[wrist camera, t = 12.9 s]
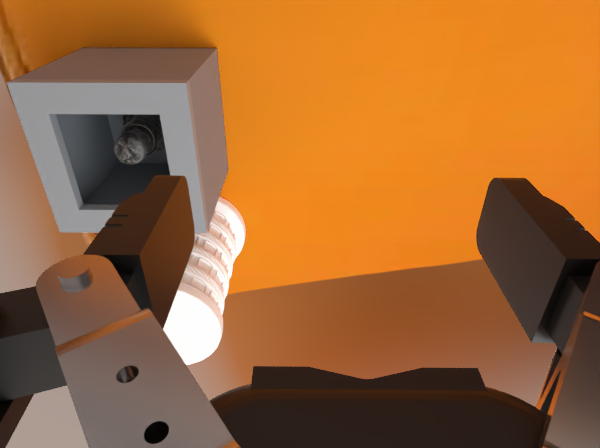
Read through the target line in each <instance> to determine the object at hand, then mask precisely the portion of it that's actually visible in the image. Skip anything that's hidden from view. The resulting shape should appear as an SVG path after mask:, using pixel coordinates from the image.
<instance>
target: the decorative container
mask: <svg viewBox="0 0 600 448" xmlns="http://www.w3.org/2000/svg"><path fill="white" fill-rule="evenodd" d="M245 233H246V227H245V224H244V220H243V218H242V216H241V214H240V213H239V211H238V210H237V209H236V208H235V207H234V206H233V205H232V204H231V203H230V202H229V201H227V200H226V199H224V198H222V197H221V196H219V199H218V202H217V205H216V207H215V210H214V213H213V216H212V219H211V222H210V225H209V228H208V231H207V233H195V239H194V246H193V250H192V253H191V255H190V258H189V261H188V263H187V266H186V269H185V271H184V274H183V277H182V280H181V282H180V285H179V288H178V290H177V293H176V296H175V298H174V301H173V304H172V307H171V309H170V312H169V315H168V317H167V320H166V323H165V325H164V328H163V330H164V332H165V333H166V335H167V337H168V338H169V340H170V341H171V343H172V344H173V346H174V347H175V349H176V350H177V352H178V354H179V355H180V357H181V358H182V360H183V361H184V363H185V364H186V365H190V364H193V363H196V362H199V361H201V360H203V359H205V358H206V357H208V356H210V355H211V354H212V353H213V352H214V351H215V349H216V348H217V346H218V344H219V342H220V339H221V336H222V331H223V318H222V314H223V310H224V299H225V297H226V295H227V293H228V288H229V279H230V277H231V275H232V270H233V262H234V260H235V258H236V257H237V256H238V255H239V253H240V252H241V250H242V247H243V245H244V242H245Z"/></svg>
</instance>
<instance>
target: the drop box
mask: <svg viewBox="0 0 600 448" xmlns="http://www.w3.org/2000/svg"><path fill="white" fill-rule="evenodd" d="M7 85H8V88H9V91H10V93H11V96H12V99H13V102H14V105H15V107H16V110H17V113H18V116H19V118H20V121H21V124H22V127H23V130H24V133H25V136H26V138H27V141H28V144H29V147H30V150H31V152H32V155H33V158H34V161H35V164H36V166H37V169H38V172H39V175H40V178H41V181H42V183H43V186H44V189H45V192H46V195H47V198H48V200H49V203H50V206H51V209H52V212H53V214H54V217H55V220H56V223H57V226H58V228H59V231H60V232H95V233H99V232H100V230H101V229H102V228H103V227H105V224H106V222H107V221H108V219H109V218H110V217H112V214H113V212H114V211H115V210H116V208H117V207H118V205H119V204H120V203H121V202H123V201H124V200H126V199H127V198H129V197H131V196H132V195H134V194H135V193H136V194H143V192H144V191H145V189H146V188H147V186H148V185H149V183H150V182H151V180H152V179H153V177H154V176H156V175H178V176H185V177H186V179H187V183H188V188H189V195H190V201H191V208H192V214H193V221H194V229H195V233H207V231H208V228H209V225H210V222H211V219H212V216H213V213H214V210H215V207H216V205H217V202H218V199H219V196H220V193H221V190H222V187H223V184H224V181H225V178H226V175H227V172H228V160H227V149H226V139H225V128H224V118H223V107H222V97H221V86H220V76H219V65H218V55H217V48H82V49H79V50H77V51H75V52H73V53H71V54H68V55H66V56H64V57H62V58H60V59H57V60H55V61H53V62H51V63H49V64H46V65H44V66H42V67H40V68H37V69H35V70H33V71H31V72H29V73H26V74H24V75H22V76H20V77H18V78H15V79H13V80H11V81H9V82H7ZM123 114H148V115H160V120H161V125H162V131H163V137H164V143H165V148H166V149H165V150H162V151H154V152H152V153H151V154H149V155H146V156H145V157H144V158H143V160H142V161H140V162H139V163H137V164H132V165H130V164H126V163H124V162H122V161H120V160H119V159H118V158H117V156H116V154H115V152H114V144H115V142H116V140H117V139H118V138H119V137H120V136H121V131H122V128H123V127H124V126H123Z"/></svg>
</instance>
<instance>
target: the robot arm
mask: <svg viewBox="0 0 600 448" xmlns="http://www.w3.org/2000/svg"><path fill="white" fill-rule="evenodd" d="M476 237H477V246H478V250H479V252H480V254H481V255H482V257H483V259H484V261H485V262H486V264H487V266H488V268H489V269H490V271H491V273H492V275H493V276H494V278H495V280H496V281H497V283H498V285H499V287H500V288H501V290H502V292H503V294H504V295H505V297H506V299H507V301H508V302H509V304H510V306H511V308H512V309H513V311H514V312H515V314H516V316H517V318H518V320H519V321H520V323H521V325H522V327H523V328H524V330H525V332H526V334H527V335H528V337H529V339H530V341H531V342H532V343H555V344H556V346H557V347H558V348H557V350H556V352H555V354H554V356H553V358H552V361H551V364H550V367H549V370H548V372H547V375H546V378H545V381H544V383H543V386H542V389H541V392H540V395H539V398H538V400H537V403H536V406H535V407H534V406H532V405H530V404H529V403H527V402H525V401H523V400H521V399H519V398H517V397H514V396H512V395H509V394H507V393H504V392H501V391H498V390H495V389H492V388H488V387H485V385H484V382H483V380H482V378H481V375H480V373H479V370H478V368H419V369H415V370H410V371H406V372H402V373H397V374H393V375H388V376H384V377H380V378H375V379H360V378H355V377H351V376H347V375H342V374H338V373H334V372H329V371H325V370H320V369H315V368H311V367H266V366H265V367H263V366H262V367H261V366H255V367H254V368H253V375H252V384H249V385H245V386H241V387H238V388H235V389H232V390H230V391H227V392H225V393H223V394H221V395H219V396H217V397H215V398H213V399H212V400H210V401H209V400H208V398H207V397H206V395H205V394H204V392H203V391H202V389H201V388H200V386H199V385H198V383H197V381H196V380H195V378H194V377H193V375H192V374H191V372H190V371H189V369H188V368H187V366H186V364H185V363H184V361H183V360H182V358H181V357H180V355H179V354H178V352H177V350H176V349H175V347H174V346H173V344H172V343H171V341H170V340H169V338H168V337H167V335H166V333H165V332H164V330H163V328H164V325H165V323H166V320H167V317H168V315H169V312H170V309H171V307H172V304H173V301H174V298H175V296H176V293H177V290H178V288H179V285H180V282H181V280H182V277H183V274H184V271H185V269H186V266H187V263H188V261H189V258H190V255H191V253H192V250H193V246H194V239H195V229H194V221H193V214H192V208H191V201H190V195H189V188H188V183H187V179H186V177H185V176H178V175H156V176H154V177H153V179H152V180H151V182H150V183H149V185H148V186H147V188H146V189H145V191H144V192H143V194H136V193H135V194H134V195H132V196H131V197H129V198H127V199H126V200H124V201H123V202H121V203H120V204H119V205H118V207H117V208H116V210H115V211H114V212H113V214H112V217H110V218H109V219H108V221H107V222H106V224H105V227H103V228H102V229H101V230H100V232H99V233H98V235H97V236H96V237H95V239H94V240H93V242H92V243H91V244H90V246H89V247H88V249H87V250H86V251H85V253H84V254H83V255H80V256H75V257H71V258H67V259H65V260H62V261H60V262H58V263H56V264H54V265H52V266H51V267H49V268H48V269H47V270H45V271H44V272H43V273H42V274H41V275H40V277H39V278H38V280H37V282H36V286H35V287H31V288H26V289H21V290H15V291H11V292H5V293H0V448H5V447H6V445H7V443H8V442H9V440H10V438H11V436H12V434H13V432H14V430H15V428H16V427H17V425H18V423H19V421H20V419H21V417H22V415H23V414H24V412H25V410H26V408H27V406H28V404H29V402H30V400H31V399H32V397H33V395H34V394H35V393H39V392H42V391H46V390H50V389H54V388H58V387H62V386H66V385H67V386H68V389H69V392H70V394H71V397H72V400H73V403H74V406H75V409H76V412H77V415H78V418H79V420H80V423H81V426H82V429H83V432H84V435H85V438H86V441H87V443H88V447H89V448H600V243H599V242H598V241H597V240H596V239H595V238H594V237H593V236H592V235H591V234H590V233H589V232H588V231H585V228H584V227H583V226H582V225H581V224H580V223H579V222H578V221H575V218H574V217H573V216H572V215H571V214H570V213H569V212H568V211H567V210H566V209H565V208H564V207H563V206H561V205H559V204H558V203H556V202H554V201H552V200H551V199H549V198H547V197H545V196H543V195H542V194H541V193H540V192H539V191H538V190H537V189H536V188H535V187H534V186H533V185H532V184H531V183H530V182H529V181H528V180H527V179H525V178H494V179H492V181H491V182H490V184H489V186H488V190H487V194H486V197H485V201H484V205H483V209H482V212H481V216H480V220H479V224H478V228H477V236H476Z"/></svg>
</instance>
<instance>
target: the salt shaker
mask: <svg viewBox="0 0 600 448" xmlns="http://www.w3.org/2000/svg"><path fill="white" fill-rule="evenodd" d="M123 126H124V127H123V128H122V131H121V136H120V137H119V138H118V139H117V140H116V142H115V144H114V152H115V154H116V156H117V158H118V159H119V160H120V161H122V162H124V163H126V164H130V165H132V164H137V163H139V162H140V161H142V160H143V158H144V157H145V156H146V155H149V154H151V153H152V152H154V151H162V150H165V149H166V148H165V143H164V137H163V131H162V125H161V120H160V115H148V114H123Z"/></svg>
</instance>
